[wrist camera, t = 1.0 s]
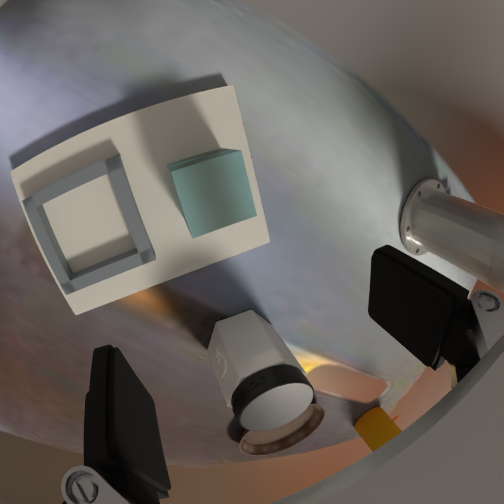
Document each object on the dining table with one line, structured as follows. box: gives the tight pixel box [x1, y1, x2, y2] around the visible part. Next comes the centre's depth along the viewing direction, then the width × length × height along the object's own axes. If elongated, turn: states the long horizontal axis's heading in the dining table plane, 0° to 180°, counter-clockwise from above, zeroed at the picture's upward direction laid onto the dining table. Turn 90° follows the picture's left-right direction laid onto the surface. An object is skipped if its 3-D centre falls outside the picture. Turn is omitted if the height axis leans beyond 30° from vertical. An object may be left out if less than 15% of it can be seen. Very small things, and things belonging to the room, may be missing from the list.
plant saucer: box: [239, 402, 325, 456], centre depth 46 cm, size 18×18×3 cm
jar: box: [207, 310, 314, 431], centre depth 29 cm, size 9×8×12 cm
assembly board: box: [10, 85, 270, 315], centre depth 23 cm, size 22×16×3 cm
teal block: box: [167, 148, 257, 238], centre depth 22 cm, size 5×5×6 cm
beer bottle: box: [354, 407, 402, 451], centre depth 49 cm, size 9×9×29 cm
